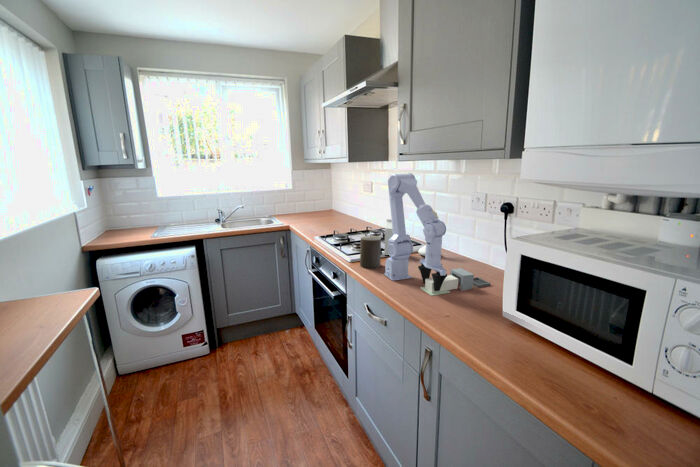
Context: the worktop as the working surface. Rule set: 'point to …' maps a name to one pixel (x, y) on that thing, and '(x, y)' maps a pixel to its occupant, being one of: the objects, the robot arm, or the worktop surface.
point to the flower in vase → (423, 249)
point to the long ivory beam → (447, 284)
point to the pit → (480, 282)
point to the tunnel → (463, 278)
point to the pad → (434, 292)
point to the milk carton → (388, 234)
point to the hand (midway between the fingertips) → (431, 286)
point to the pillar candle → (370, 252)
